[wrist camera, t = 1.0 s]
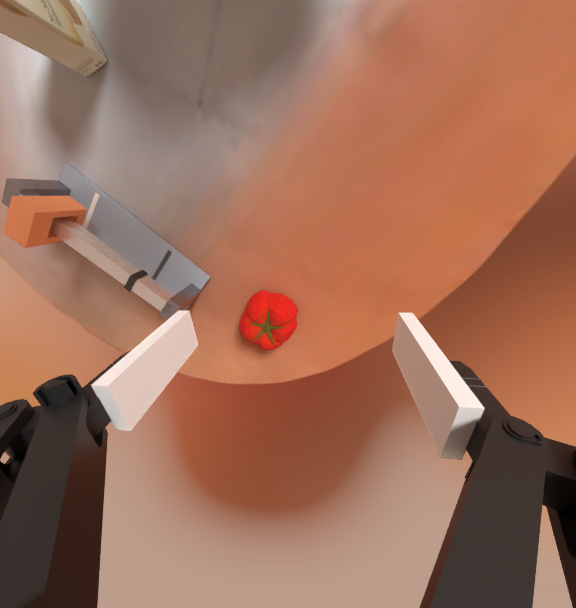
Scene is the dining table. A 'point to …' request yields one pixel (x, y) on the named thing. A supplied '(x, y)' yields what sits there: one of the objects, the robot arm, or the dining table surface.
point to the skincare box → (53, 32)
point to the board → (132, 236)
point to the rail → (102, 250)
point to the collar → (39, 218)
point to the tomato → (268, 319)
